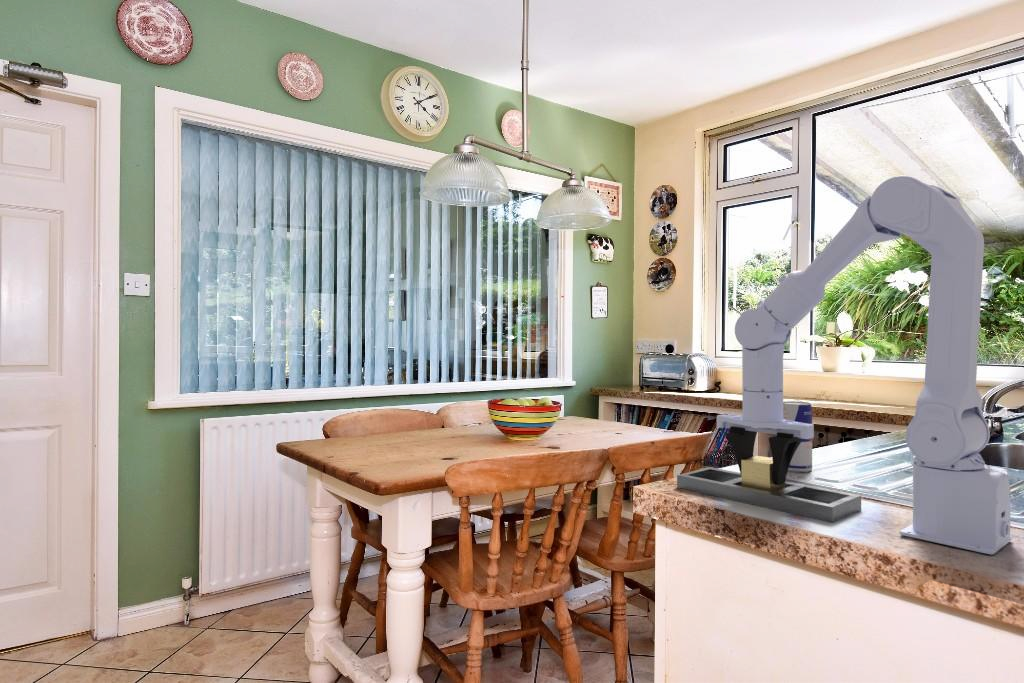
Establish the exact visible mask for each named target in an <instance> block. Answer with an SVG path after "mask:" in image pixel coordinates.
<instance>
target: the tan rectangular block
mask: <svg viewBox="0 0 1024 683" xmlns="http://www.w3.org/2000/svg"><path fill="white" fill-rule="evenodd" d="M741 475H742V486H743V487H748V488H753V489H758V490H763V491H768V492H775V491H778V490H781V489H784V488H785V483H784V484H781V485H775V484H774V482H773V459H772V457H768V456H760V455H753V457H750V458H746V459H742V460H741Z"/></svg>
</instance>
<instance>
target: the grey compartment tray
mask: <svg viewBox="0 0 1024 683" xmlns="http://www.w3.org/2000/svg"><path fill="white" fill-rule="evenodd" d="M676 488H677V489H682V490H687V491H690V492H696V493H700V494H705V495H710V496H714V497H718V498H723V499H726V500H732V501H736V502H741V503H745V504H748V503H749V505H753V506H758V507H763V508H767V509H772V510H775V511H780V512H786V513H789V514H793V513H794V515H799V516H803V517H807V518H812V519H816V520H820V521H823V522H824V521H826V522H829V523H834V522H836V521H838V520H841V519H843V518H846V517H848V516H850V515H853V514H854V513H856V512H859V511H861V510H862V495H861V494H857V493H856V494H855V493H849V492H846V491H840V490H839V491H838V490H834V489H830V488H829V489H828V488H824V487H818V486H813V485H807V484H802V483H797V482H792V481H786V480H785V488H784V489H781V490H778V491H775V492H768V491H763V490H758V489H753V488H748V487H743V486H742V478H741V474H740V472H737V471H732V470H727V469H722V468H717V467H710V466H707V467H704V468H699V469H696V470H692V471H691V470H690V471H688V472H684V473H680V474H676Z"/></svg>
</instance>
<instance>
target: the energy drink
mask: <svg viewBox="0 0 1024 683" xmlns="http://www.w3.org/2000/svg"><path fill="white" fill-rule="evenodd" d="M783 419H784V420H789V421H795V422H801V423H807V424H813V407H812V404H811V403H810V402H808V401H806V402H805V401H796V400H795V401H783ZM779 431H781V430H779ZM812 470H813V438H810V439H802V440H801V443H800V445H799V446H798V448H797V450H796V451H795V453H794V455H793V457H792V460H791V462H790V465H789V468H788V472H789V473H798V472H804V473H810V472H811V471H812ZM809 471H810V472H809Z"/></svg>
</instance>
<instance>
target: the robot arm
mask: <svg viewBox="0 0 1024 683" xmlns="http://www.w3.org/2000/svg"><path fill="white" fill-rule="evenodd" d="M901 234H902V235H905V236H907V237H908V238H910V239H911V240H913V241H914V242H915V243H916V244H917V245H919V246H920V247H922V248H923V249H924V250H925V251H926V252H928V253H929V254H930V255H931V257H930V258H931V259H930V260H931V261H930V279H929V280H930V281H929V295H928V296H929V297H928V315H927V317H928V318H927V334H926V335H927V337H926V348H925V349H926V352H925V353H926V354H925V368H924V369H925V372H924V383H923V384H924V385H923V387H922V389H921V391H920V392H919V395H918V397H917V399H916V403H915V404H916V405H915V412H914V415H913V417H912V419H911V420H910V422H909V423H908V426H907V427H906V431H905V441H906V445H907V447H908V448H909V450H910V452H911V453H912V454H913V456H912V460H913V462H912V524H910V525H908V526H906V527H904V528H902V529H900V531H899V534H900V535H901V536H904V537H909V538H913V539H917V540H923V541H927V542H932V543H936V544H941V545H946V546H950V547H955V548H959V549H964V550H969V551H972V552H977V553H980V554H981V553H982V554H985V555H986V554H988V555H995V554H996V553H997V552H999V551H1000V550H1001V549H1003V547H1005V546H1006V545H1007V544H1009V543H1010V542H1011V541H1012V540H1013V539H1012V536H1011V484H1010V483H1011V482H1010V479H1009V476H1008V474H1006V473H1005V472H1002V471H997V470H991V469H989V468H986V463H985V462H986V461H985V460H984V459H983V457H982V454H980V453H981V451H983V450H984V449H985V448H986V446H987V445H988V443H989V442H990V438H991V437H990V436H991V433H990V430H991V429H990V426H989V424H988V422H987V420H986V418H985V416H984V414H983V413H984V412H983V398H982V396H981V394H980V392H979V390H978V387H977V375H978V374H977V372H978V358H979V357H978V355H979V336H980V335H979V334H980V321H981V320H980V318H981V304H982V303H981V302H982V301H981V300H982V285H983V284H982V283H983V269H984V255H985V254H984V250H985V240H984V234H983V233H982V232H981V230H980V229H979V227H978V226H977V225H976V223H975V222H974V220H973V219H972V218H971V216H970V215H969V214H968V213H967V211H966V210H965V208H964V207H963V205H962V204H961V201H960V199H959V198H958V197H957V196H955V195H954V194H952V193H950V192H948V191H947V190H945V189H943V188H941V187H939V186H936V185H933V184H927V183H925V182H923V181H921V180H919V179H917V178H915V177H912V176H909V175H908V176H907V175H898V176H893V177H889V178H888V179H886V180H885V181H883V182H882V183H880V184H879V185H878V186H877V188H875V190H874V191H873V192H872V195H869V196H867V197H866V198H865V199H864V200H862V201H861V202H860V204H859V205H858V207H857V208H856V210H855V212H854V213H853V215H852V216H851V218H850V219H849V220H848V221H847V222H846V223H845V224H844V226H842V228H841V229H840V230H839V231H838V232H837V233H836V234H835V236H834V237H833V238H831V240H830V241H829V242H828V243H827V245H826V246H825V247H824V248H823V249H822V251H820V252H819V254H818V255H817V256H816V257H815V259H813V260H812V262H811V263H810V264H809V265H808V266H807V268H805V270H794V271H791V272H789V274H782V275H781V276H780V278H778V279H777V280H778V282H779V284H778V285H777V286H776V287H775V288H774V289H773V290H772V292H771V293H769V294H768V295H767V297H766V298H764V299H760V300H759V301H758V302H757V303H756V305H757V307H756V308H753V309H752V308H751V309H746V310H744V311H742V312H741V313H740V315H739V317H738V319H737V320H736V322H735V324H734V325H735V326H734V335H735V339H736V340H737V342H738V344H740V346H742V347H741V348H742V349H741V350H742V352H741V356H742V357H741V358H742V360H741V361H742V362H741V365H742V366H741V367H742V371H741V372H742V375H741V377H742V379H741V380H742V382H741V383H742V389H741V390H742V395H741V396H742V415H737V414H725V413H724V414H718V415H716V428H717V429H729V430H728V432H725V439H726V441H728V443H729V446H730V447H731V449H732V452H733V454H734V456H735V458H736V459H735V460H736V462H737V466H738V468H739V473H740V474H741V460H742V459H746V458H750V457H754V452H755V450H754V449H755V443H756V438H757V434H758V433H763V434H772V435H776V436H771V437H768V442H769V446H770V452H771V458H772V459H773V482H774V484H775V485H781V484H784V483H785V481H786V479H787V476H788V475H787V474H788V472H789V471H788V468H789V465H790V462H791V460H792V457H793V455H794V453H795V451H796V450H797V448H798V446H799V445H800V443H801V440H802V439H810V438H812V439H814V438H815V430H814V429H815V428H814V427H815V425H814V424H813V423H812V424H807V423H801V422H795V421H789V420H784V419H783V402H784V348H785V346H786V345H787V343H788V342H789V340H790V338H791V335H792V329H794V328H795V327H796V326H797V325H798V324H799V323H800V322H801V321H802V320H804V318H805V317H806V316H807V315H808V314H810V312H812V311H813V310H814V308H816V307H817V306H818V305H819V304H820V303H821V302H822V301H823V300H824V298H825V292H826V291H825V287H826V285H827V284H828V283H829V282H830V281H832V280H833V279H834V278H836V276H837V275H838V274H840V273H841V272H842V271H843V270H844V269H845V268H846V267H847V266H848V265H850V264H851V263H852V262H853V261H855V259H857V257H859V256H860V255H861V254H863V252H864V251H865V250H867V249H868V248H869V247H870V246H872V245H874V244H879V243H883V242H888V241H894V240H897V239H901V238H902V235H901ZM780 430H781V431H780ZM741 478H742V475H741Z"/></svg>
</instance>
